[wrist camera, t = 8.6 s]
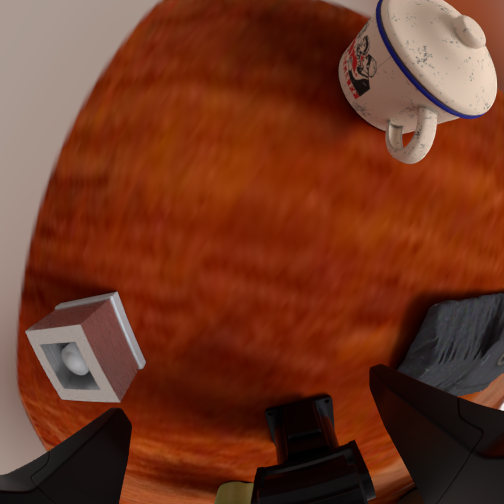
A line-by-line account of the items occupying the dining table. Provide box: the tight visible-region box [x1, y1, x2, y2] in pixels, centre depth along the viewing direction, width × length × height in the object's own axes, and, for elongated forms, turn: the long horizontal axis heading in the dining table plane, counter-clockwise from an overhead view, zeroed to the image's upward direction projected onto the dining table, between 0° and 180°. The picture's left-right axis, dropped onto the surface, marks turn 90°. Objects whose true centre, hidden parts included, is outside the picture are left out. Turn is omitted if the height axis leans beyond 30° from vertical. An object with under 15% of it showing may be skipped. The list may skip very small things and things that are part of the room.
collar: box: [25, 298, 140, 402], centre depth 18 cm, size 7×7×5 cm
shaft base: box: [55, 292, 146, 375], centre depth 19 cm, size 7×7×6 cm
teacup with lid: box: [339, 0, 497, 164], centre depth 12 cm, size 12×9×12 cm
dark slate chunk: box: [396, 293, 504, 396], centre depth 21 cm, size 15×22×5 cm
